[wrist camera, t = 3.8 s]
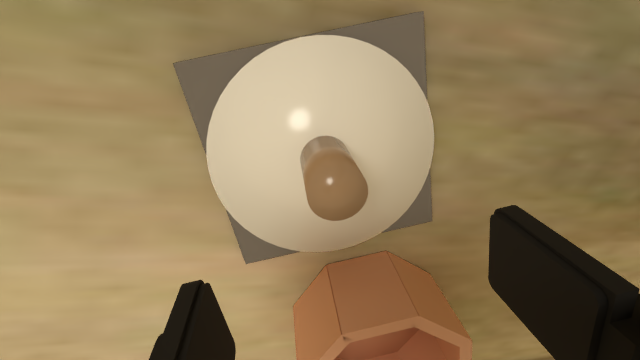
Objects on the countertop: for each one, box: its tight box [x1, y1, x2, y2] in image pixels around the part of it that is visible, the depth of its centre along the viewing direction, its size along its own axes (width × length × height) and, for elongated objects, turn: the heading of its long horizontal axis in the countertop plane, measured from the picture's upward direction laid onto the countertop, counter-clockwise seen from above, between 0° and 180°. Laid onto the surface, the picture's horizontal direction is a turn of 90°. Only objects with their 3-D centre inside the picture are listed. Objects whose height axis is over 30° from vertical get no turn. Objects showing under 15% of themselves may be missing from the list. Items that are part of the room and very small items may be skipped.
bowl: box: [293, 251, 472, 360], centre depth 23 cm, size 11×11×6 cm
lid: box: [206, 35, 434, 252], centre depth 17 cm, size 13×13×5 cm
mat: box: [173, 11, 432, 264], centre depth 20 cm, size 13×13×1 cm
